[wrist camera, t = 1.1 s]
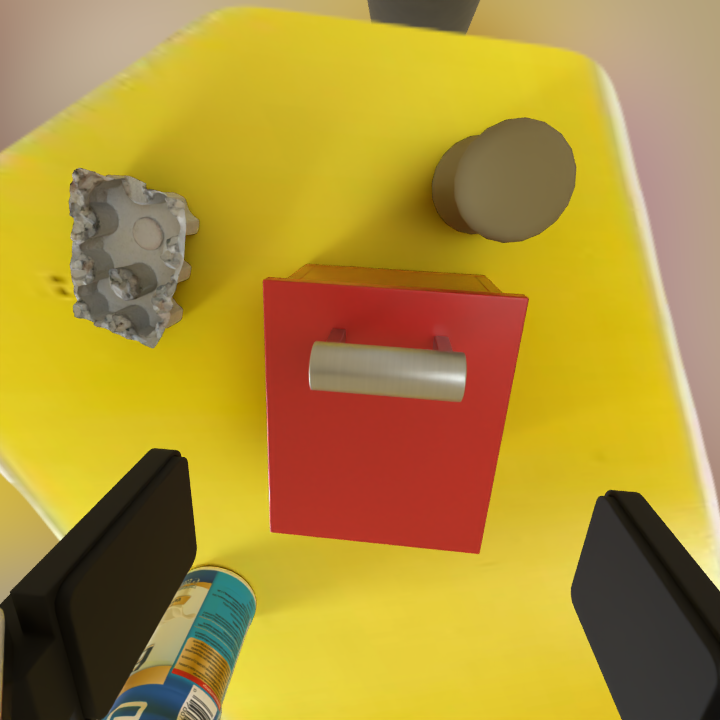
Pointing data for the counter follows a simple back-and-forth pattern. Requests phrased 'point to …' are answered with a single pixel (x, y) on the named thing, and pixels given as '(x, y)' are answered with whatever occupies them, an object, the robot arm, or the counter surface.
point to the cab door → (386, 409)
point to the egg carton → (127, 254)
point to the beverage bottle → (190, 651)
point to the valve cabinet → (395, 277)
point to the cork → (505, 181)
